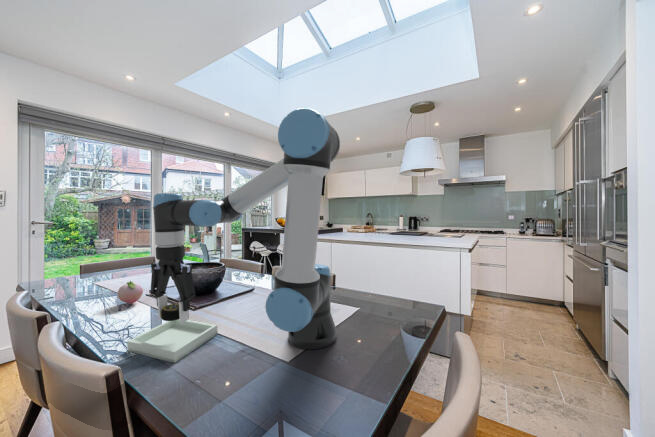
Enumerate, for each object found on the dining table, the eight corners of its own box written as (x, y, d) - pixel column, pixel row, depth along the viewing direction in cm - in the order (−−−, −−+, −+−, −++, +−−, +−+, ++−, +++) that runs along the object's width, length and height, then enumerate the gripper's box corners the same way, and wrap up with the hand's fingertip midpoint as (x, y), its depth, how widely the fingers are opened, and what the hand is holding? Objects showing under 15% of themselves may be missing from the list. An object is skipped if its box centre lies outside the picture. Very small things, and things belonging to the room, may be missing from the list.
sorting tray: (217, 334, 86) (217, 325, 85) (174, 362, 70) (174, 352, 70) (175, 326, 91) (175, 317, 91) (127, 351, 76) (127, 341, 76)
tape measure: (183, 322, 79) (183, 309, 79) (157, 325, 77) (157, 312, 77) (188, 312, 85) (188, 301, 85) (164, 315, 83) (164, 303, 83)
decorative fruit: (114, 305, 110) (113, 281, 110) (137, 298, 117) (136, 276, 116) (123, 310, 105) (121, 285, 104) (146, 303, 112) (145, 280, 111)
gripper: (207, 244, 79) (210, 318, 81) (156, 241, 86) (159, 309, 87) (186, 249, 72) (190, 329, 73) (133, 245, 78) (137, 319, 80)
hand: (173, 318), depth 80 cm, fingers closed on tape measure, 8 cm apart
